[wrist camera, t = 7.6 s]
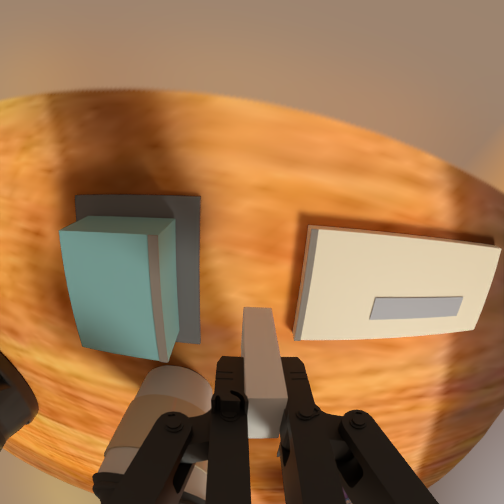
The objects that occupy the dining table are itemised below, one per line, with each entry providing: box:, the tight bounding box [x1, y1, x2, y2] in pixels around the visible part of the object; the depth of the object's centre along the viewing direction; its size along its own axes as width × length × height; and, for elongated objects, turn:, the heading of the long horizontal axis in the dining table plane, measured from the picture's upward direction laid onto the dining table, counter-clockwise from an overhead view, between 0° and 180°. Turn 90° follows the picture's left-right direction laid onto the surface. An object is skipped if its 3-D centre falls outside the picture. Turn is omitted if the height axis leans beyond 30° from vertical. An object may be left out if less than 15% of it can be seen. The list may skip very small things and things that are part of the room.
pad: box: [75, 195, 201, 344], centre depth 21 cm, size 10×12×1 cm
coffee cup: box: [93, 365, 212, 504], centre depth 18 cm, size 9×9×15 cm
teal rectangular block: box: [59, 216, 179, 363], centre depth 19 cm, size 7×9×4 cm
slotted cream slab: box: [292, 225, 501, 341], centre depth 21 cm, size 20×9×1 cm, turn 86°
